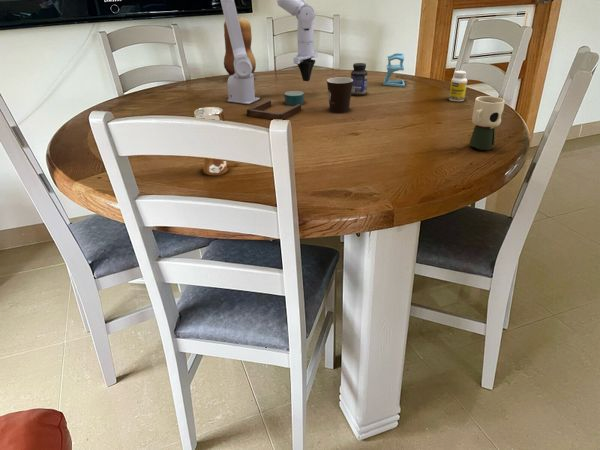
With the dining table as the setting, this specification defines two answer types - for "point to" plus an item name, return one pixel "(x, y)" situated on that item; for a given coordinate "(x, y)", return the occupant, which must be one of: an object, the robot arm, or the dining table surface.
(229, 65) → the butternut squash
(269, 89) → the dining table surface
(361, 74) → the pill bottle
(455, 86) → the supplement bottle
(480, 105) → the character mug
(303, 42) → the robot arm
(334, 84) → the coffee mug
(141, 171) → the dining table surface
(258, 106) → the walnut bay
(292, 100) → the teal puck
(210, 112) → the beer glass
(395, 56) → the chair
